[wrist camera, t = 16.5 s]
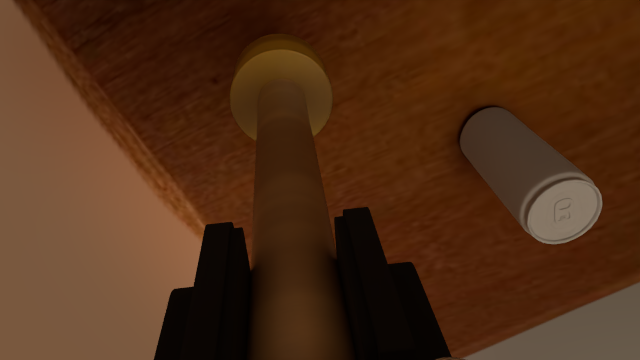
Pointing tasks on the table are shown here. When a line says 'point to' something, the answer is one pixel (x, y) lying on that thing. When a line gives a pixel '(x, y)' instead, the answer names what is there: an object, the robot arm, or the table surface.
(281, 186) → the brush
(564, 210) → the beverage can
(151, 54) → the table surface
